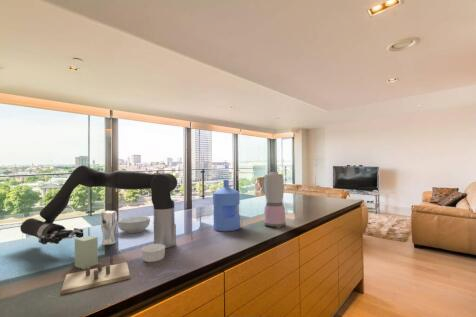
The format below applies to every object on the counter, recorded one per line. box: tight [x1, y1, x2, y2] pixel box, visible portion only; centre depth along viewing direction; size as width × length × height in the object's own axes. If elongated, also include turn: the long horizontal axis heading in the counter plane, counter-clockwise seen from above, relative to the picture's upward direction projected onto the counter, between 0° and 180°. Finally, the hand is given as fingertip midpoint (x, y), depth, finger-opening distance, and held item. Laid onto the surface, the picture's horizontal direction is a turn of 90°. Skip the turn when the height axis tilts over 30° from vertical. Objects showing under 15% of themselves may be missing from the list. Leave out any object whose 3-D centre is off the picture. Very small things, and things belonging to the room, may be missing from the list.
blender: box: [261, 171, 287, 229], centre depth 141 cm, size 16×12×32 cm
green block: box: [74, 235, 99, 270], centre depth 88 cm, size 6×5×10 cm
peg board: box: [60, 261, 131, 295], centre depth 77 cm, size 18×12×4 cm, turn 120°
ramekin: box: [141, 243, 166, 263], centre depth 93 cm, size 9×9×4 cm
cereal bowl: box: [117, 216, 151, 234], centre depth 134 cm, size 17×17×7 cm
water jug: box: [212, 179, 241, 232], centre depth 137 cm, size 16×16×28 cm
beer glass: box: [100, 210, 118, 246], centre depth 114 cm, size 7×7×15 cm
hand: (70, 238), depth 94 cm, fingers open, 8 cm apart
